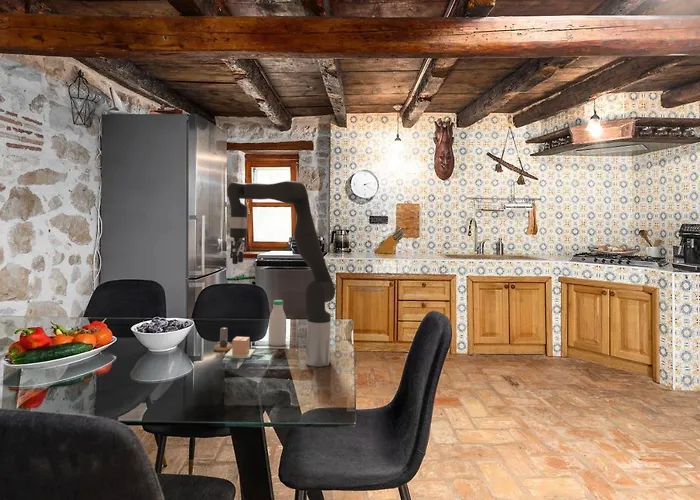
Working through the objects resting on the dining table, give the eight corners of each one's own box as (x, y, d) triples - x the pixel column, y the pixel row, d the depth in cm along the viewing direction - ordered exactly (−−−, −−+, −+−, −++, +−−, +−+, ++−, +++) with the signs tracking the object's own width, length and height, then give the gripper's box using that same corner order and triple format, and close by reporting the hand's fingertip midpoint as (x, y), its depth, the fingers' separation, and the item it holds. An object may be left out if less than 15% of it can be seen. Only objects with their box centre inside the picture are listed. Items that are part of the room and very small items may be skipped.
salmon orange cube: (249, 350, 183) (249, 336, 183) (245, 354, 178) (246, 340, 177) (236, 350, 183) (236, 335, 183) (232, 354, 178) (232, 339, 177)
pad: (255, 351, 185) (255, 349, 185) (249, 358, 176) (249, 356, 175) (232, 350, 186) (232, 348, 186) (224, 357, 176) (224, 355, 176)
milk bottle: (284, 346, 193) (285, 302, 192) (266, 346, 193) (267, 301, 192) (286, 342, 201) (288, 299, 200) (270, 341, 201) (271, 298, 200)
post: (235, 346, 191) (235, 326, 190) (229, 352, 183) (230, 331, 182) (217, 345, 191) (217, 325, 190) (211, 351, 183) (211, 330, 182)
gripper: (242, 227, 188) (241, 265, 189) (250, 227, 202) (250, 262, 203) (225, 227, 188) (224, 264, 189) (235, 226, 203) (234, 261, 204)
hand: (237, 263), depth 196 cm, fingers open, 8 cm apart
